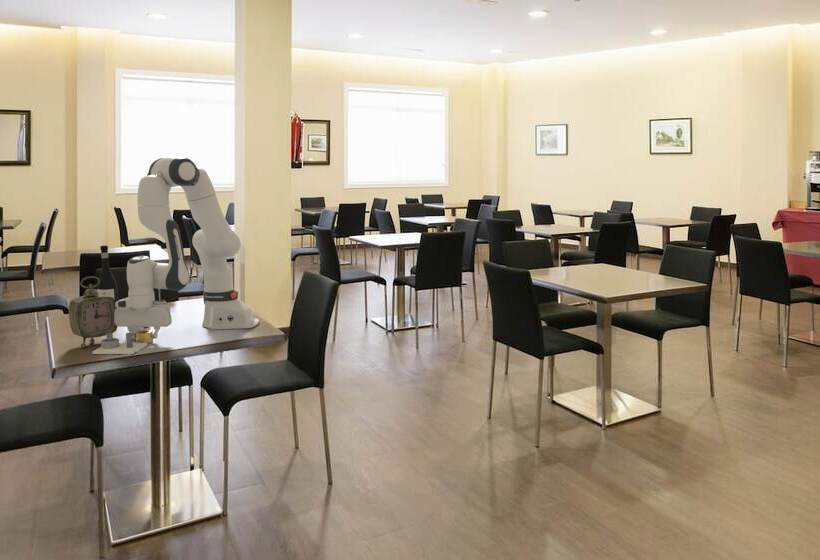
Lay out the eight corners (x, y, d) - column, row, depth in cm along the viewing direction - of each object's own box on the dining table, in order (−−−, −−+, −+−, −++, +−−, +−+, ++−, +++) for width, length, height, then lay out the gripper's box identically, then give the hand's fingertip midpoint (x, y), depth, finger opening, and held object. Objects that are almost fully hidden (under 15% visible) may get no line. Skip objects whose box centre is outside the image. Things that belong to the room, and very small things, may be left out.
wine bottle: (114, 315, 303) (109, 246, 298) (96, 315, 303) (90, 246, 298) (122, 311, 311) (117, 244, 306) (104, 311, 311) (99, 244, 306)
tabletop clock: (80, 350, 247) (74, 280, 243) (69, 345, 253) (63, 277, 249) (120, 342, 258) (114, 275, 254) (108, 338, 264) (103, 272, 260)
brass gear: (154, 340, 260) (154, 330, 259) (148, 344, 254) (148, 333, 254) (140, 340, 260) (139, 330, 259) (134, 344, 255) (133, 333, 254)
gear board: (147, 346, 252) (145, 329, 251) (132, 355, 240) (131, 337, 239) (109, 345, 253) (107, 329, 252) (92, 354, 241) (91, 337, 240)
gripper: (173, 299, 257) (175, 336, 259) (118, 299, 258) (121, 335, 260) (166, 303, 251) (169, 340, 253) (110, 302, 252) (113, 340, 254)
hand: (144, 338), depth 257 cm, fingers open, 6 cm apart
